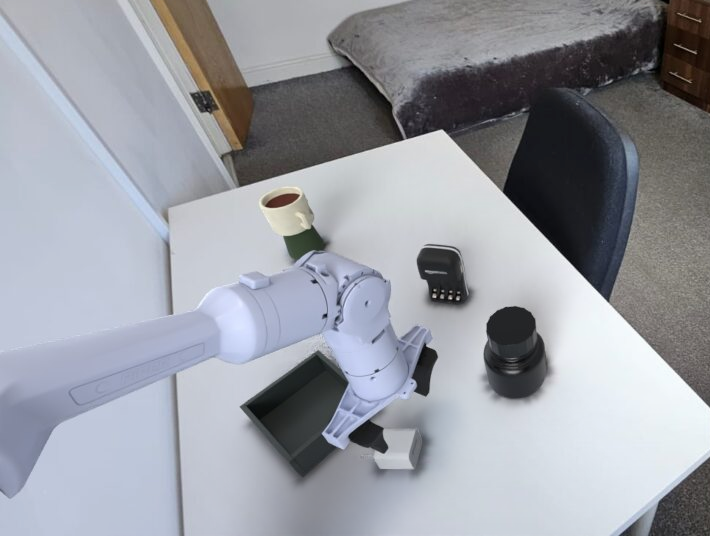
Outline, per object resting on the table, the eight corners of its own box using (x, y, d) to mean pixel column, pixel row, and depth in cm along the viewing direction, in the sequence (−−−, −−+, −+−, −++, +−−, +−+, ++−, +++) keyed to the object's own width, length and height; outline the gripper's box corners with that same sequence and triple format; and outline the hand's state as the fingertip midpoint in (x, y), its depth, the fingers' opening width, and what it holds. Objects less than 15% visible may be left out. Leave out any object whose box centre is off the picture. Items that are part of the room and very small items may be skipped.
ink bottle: (558, 360, 74) (556, 311, 66) (534, 409, 67) (529, 361, 60) (502, 342, 76) (494, 292, 68) (475, 388, 70) (462, 339, 62)
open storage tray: (302, 477, 60) (288, 462, 57) (254, 423, 65) (239, 406, 62) (377, 411, 67) (368, 394, 64) (328, 367, 72) (318, 349, 69)
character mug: (342, 250, 92) (318, 197, 83) (309, 272, 87) (280, 218, 78) (307, 231, 96) (281, 178, 87) (274, 251, 91) (243, 197, 83)
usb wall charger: (414, 471, 61) (407, 457, 58) (361, 470, 61) (351, 457, 58) (422, 440, 64) (416, 426, 61) (371, 440, 64) (363, 425, 61)
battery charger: (425, 304, 82) (410, 257, 74) (433, 288, 85) (419, 241, 77) (464, 308, 81) (453, 261, 74) (470, 292, 84) (461, 245, 77)
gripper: (347, 431, 41) (387, 491, 50) (444, 312, 51) (463, 380, 60) (287, 402, 43) (336, 465, 52) (392, 293, 53) (418, 362, 62)
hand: (401, 418), depth 56 cm, fingers open, 7 cm apart
